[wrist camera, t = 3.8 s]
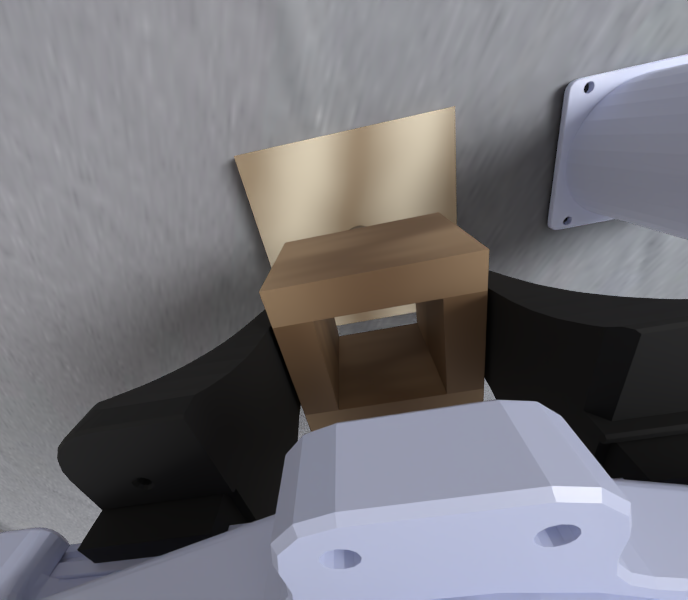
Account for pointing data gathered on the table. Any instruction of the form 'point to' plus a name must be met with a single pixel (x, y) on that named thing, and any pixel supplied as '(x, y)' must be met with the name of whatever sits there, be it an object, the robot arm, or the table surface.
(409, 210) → the birch stand
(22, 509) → the table surface
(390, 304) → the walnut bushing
